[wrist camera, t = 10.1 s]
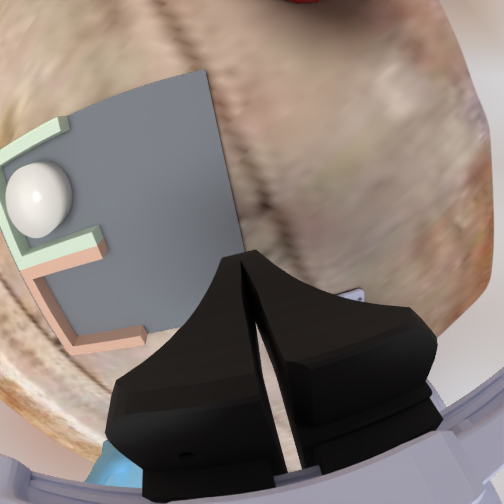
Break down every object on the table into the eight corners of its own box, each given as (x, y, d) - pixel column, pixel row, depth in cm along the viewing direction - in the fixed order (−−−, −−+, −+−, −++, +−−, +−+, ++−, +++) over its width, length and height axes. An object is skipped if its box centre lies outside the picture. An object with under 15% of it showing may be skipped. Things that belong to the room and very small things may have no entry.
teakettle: (232, 394, 29) (253, 519, 15) (234, 457, 37) (248, 537, 24) (74, 390, 26) (48, 498, 13) (120, 455, 34) (115, 531, 21)
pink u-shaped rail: (147, 333, 22) (145, 344, 21) (74, 345, 22) (70, 355, 21) (103, 237, 18) (97, 245, 17) (27, 262, 18) (19, 270, 17)
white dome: (79, 222, 17) (67, 233, 16) (29, 231, 17) (16, 242, 15) (65, 152, 15) (51, 157, 13) (14, 169, 15) (-1, 175, 13)
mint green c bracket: (103, 237, 18) (97, 245, 17) (27, 262, 18) (19, 270, 17) (66, 116, 14) (57, 116, 13) (-9, 160, 14) (-20, 163, 13)
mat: (256, 305, 23) (258, 309, 23) (65, 342, 22) (63, 346, 22) (204, 70, 15) (205, 69, 15) (-15, 165, 14) (-19, 167, 14)
